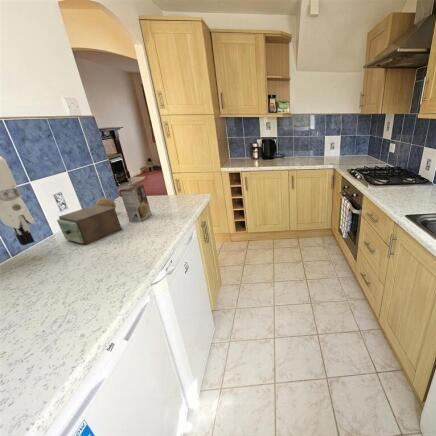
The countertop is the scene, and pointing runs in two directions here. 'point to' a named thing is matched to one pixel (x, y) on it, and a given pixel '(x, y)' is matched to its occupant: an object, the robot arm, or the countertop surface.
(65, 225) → the drawer
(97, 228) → the cabinet
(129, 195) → the coffee box
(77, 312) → the countertop surface
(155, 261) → the countertop surface
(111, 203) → the natural sponge
